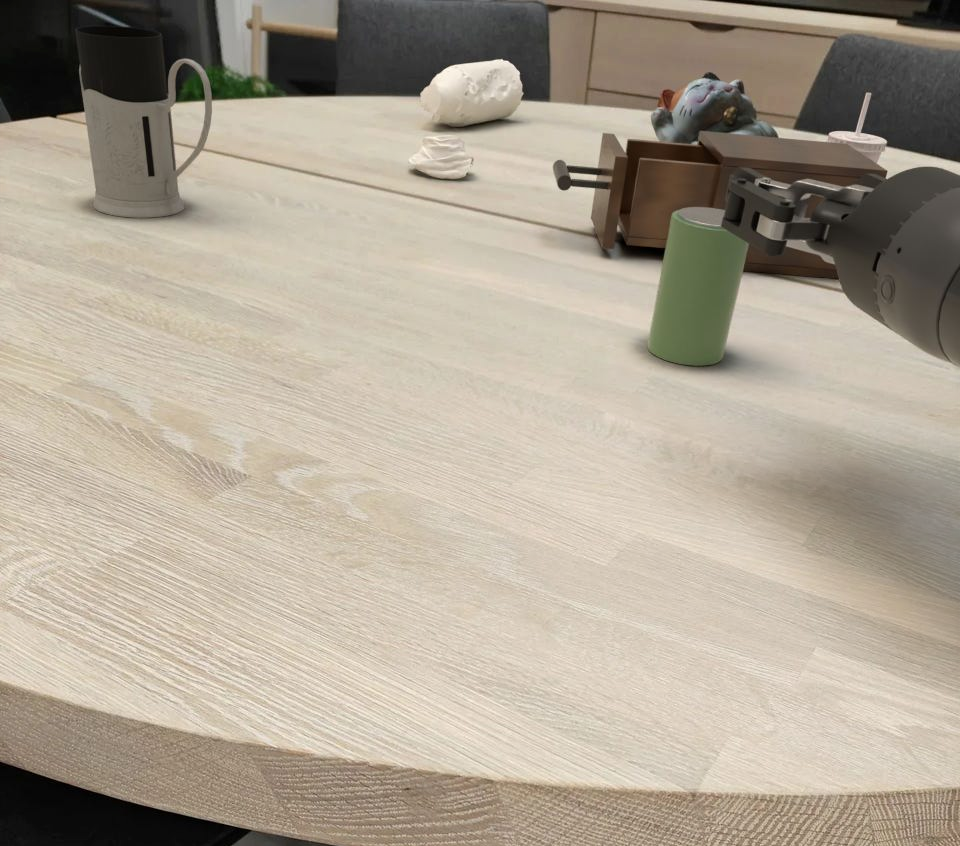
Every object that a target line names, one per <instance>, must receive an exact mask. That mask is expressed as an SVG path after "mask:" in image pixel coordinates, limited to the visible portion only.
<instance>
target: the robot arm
mask: <svg viewBox="0 0 960 846" xmlns="http://www.w3.org/2000/svg"><path fill="white" fill-rule="evenodd" d="M811 194H812V195H816V196H820V197H824V199H823V200H822V201H821V202H820V203H819V204H818V206H817V207H816V208H815V210H814V211H813V212H812V214H811V218H804V216H805V212H806V208H807V204H808V200H809V197H810V196H811ZM776 195H778V196H782V197H784V198H785V200H784V199H782V198H780V197H778V196H776ZM725 202H727V204H726V209H725V213H724V217H723V219H722V223H721V227H722V228H724V229H726V230H727V231H729V232H731V233H732V234H734V235H736V236H737V237H739V238H740V239H742V240H744V241H745V242H747V243H749V244H750V245H752V246H754V247H755V248H757V249H759V250H760V251H762V252H764V253H767V255H769V256H777V255H783V254H784V252H785V248H786V246H787V247H791V248H794V249H798V250H802V251H805V252H809V253H813V254H816V255H820V256H821V257H822V259H823V260H824V261H825V262H828V263H831V264H835V266H836V269H837V273H838V277H839V279H838V280H839V284H840V286H841V289H842V291H843V293H844V295H845V296H846V298H847V299H848V300H849V302H850V303H851V304H852V305H853V306H854V307H855V308H857V309H859V310H860V311H862V312H863V313H865V314H866V315H868V316H869V317H871V318H873V319H874V320H875V321H877V322H878V323H880V324H881V325H882V326H885V327H886V328H887V329H889V330H891V331H892V332H893V333H895V334H896V335H898V336H900V337H901V338H902V339H904V340H906V341H907V342H908V343H910V344H911V345H913V346H914V347H917V348H918V349H919V350H920V351H922V352H924V353H926V354H928V355H930V356H931V357H934V358H936V359H939V360H941V361H944V362H946V363H949V364H951V365H954V366H956V367H957V368H959V369H960V174H958V173H955V172H953V171H950V170H948V169H944V168H942V167H938V166H917V167H912V168H908V169H905V170H902V171H900V172H898V173H895V174H894V175H892V176H889V177H888V178H887V177H886V178H883V177H881V176H879V175H877V174H867V173H865V174H863V175H862V176H861V178H860V180H859V183H858V185H851V186H848V187H842V186H838V185H834V184H829V183H825V182H821V181H816V180H812V179H804V180H800V181H796V182H794V183H792V184H791V185H790V184H786V183H781V182H777V181H773V180H771V178H767V177H765V176H764V175H762V174H760V173H758V172H756V171H754V170H752V169H751V168H745V167H737V168H736V170H735V172H734V175H730V179H729V184H728V188H727V193H726V198H725Z"/></svg>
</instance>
